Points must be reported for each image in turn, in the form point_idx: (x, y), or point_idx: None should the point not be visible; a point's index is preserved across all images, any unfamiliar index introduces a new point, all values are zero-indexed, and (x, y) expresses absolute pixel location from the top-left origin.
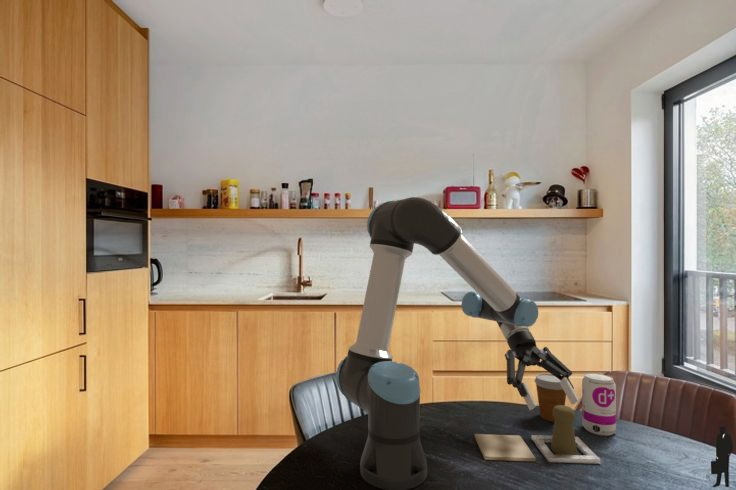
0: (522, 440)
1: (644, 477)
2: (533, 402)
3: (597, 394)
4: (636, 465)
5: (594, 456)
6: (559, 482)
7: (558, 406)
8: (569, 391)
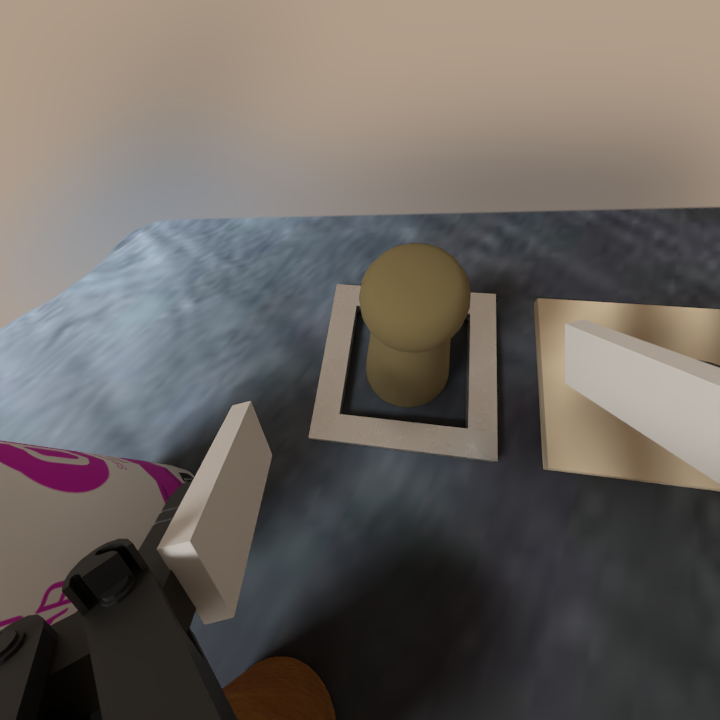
0: (549, 421)
1: (272, 237)
2: (596, 325)
3: (49, 465)
4: (244, 285)
5: (343, 299)
6: (502, 215)
7: (441, 287)
8: (242, 466)
